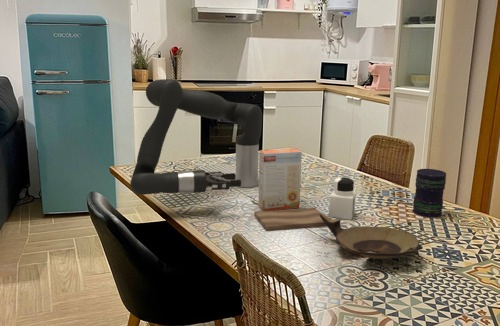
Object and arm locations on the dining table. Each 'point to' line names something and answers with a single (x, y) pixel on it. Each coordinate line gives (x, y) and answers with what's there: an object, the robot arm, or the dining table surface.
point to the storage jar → (429, 193)
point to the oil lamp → (373, 240)
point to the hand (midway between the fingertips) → (238, 179)
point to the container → (342, 199)
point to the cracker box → (279, 179)
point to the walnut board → (289, 219)
